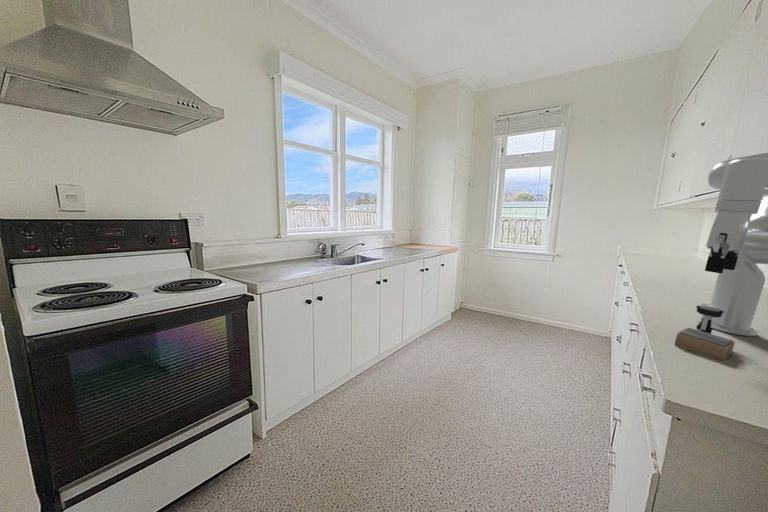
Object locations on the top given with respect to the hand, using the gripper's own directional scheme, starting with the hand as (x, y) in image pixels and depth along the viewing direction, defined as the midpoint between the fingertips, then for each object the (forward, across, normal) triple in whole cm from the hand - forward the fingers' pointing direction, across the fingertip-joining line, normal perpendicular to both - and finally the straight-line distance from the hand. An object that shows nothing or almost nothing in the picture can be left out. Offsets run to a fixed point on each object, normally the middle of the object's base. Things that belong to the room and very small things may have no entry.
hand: (719, 270), depth 81 cm
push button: (+21, 0, 0) cm, 21 cm away
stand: (+20, +9, +3) cm, 22 cm away
